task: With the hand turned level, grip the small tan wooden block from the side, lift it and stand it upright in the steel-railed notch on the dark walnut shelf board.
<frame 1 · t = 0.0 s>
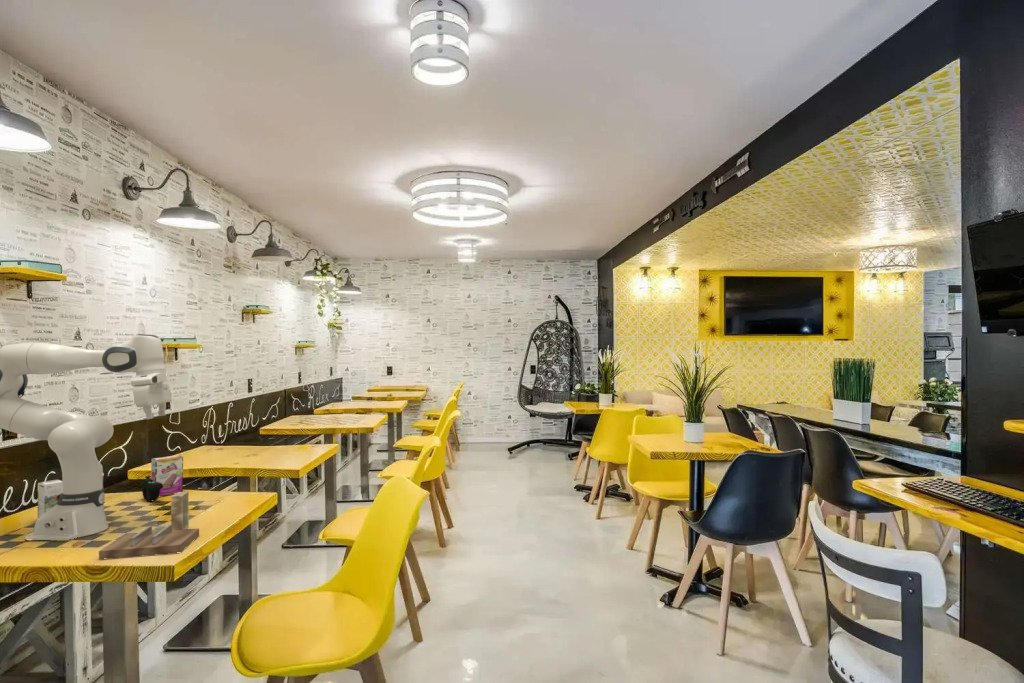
hand: (156, 417, 194), 39 cm above the table, tool pointing down, fingers open, 8 cm apart
tan wooden block: (180, 532, 187), on the table
notch board: (151, 547, 172), on the table
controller: (152, 501, 227), on the table
candy bar box: (167, 495, 237), on the table
syrup box: (50, 521, 202), on the table
paper cup: (92, 507, 219), on the table
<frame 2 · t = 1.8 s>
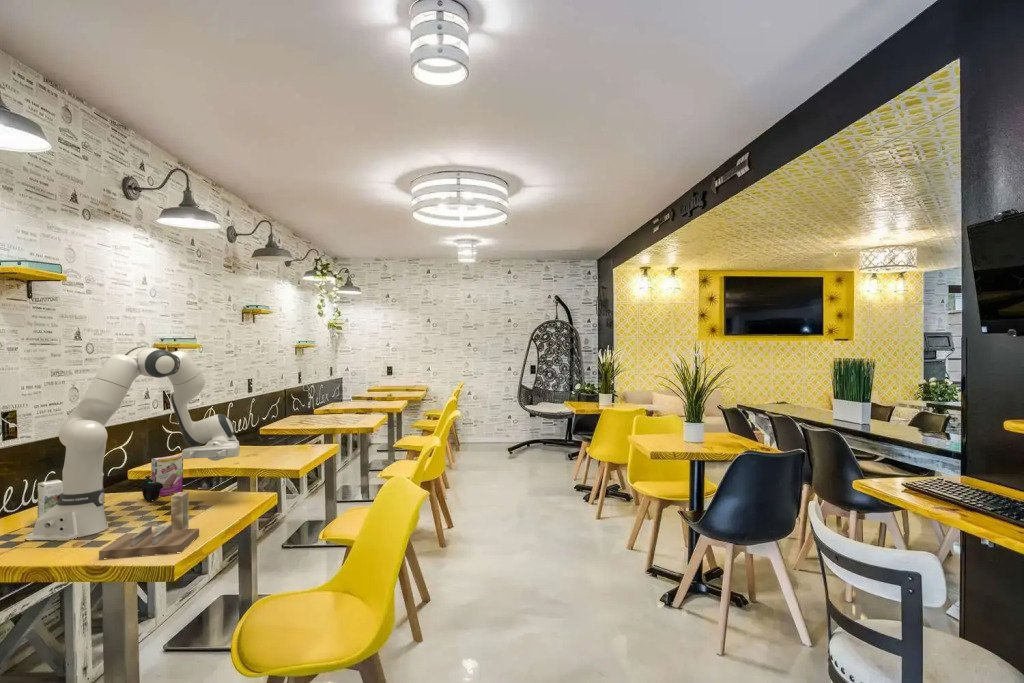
hand: (204, 455, 210), 22 cm above the table, tool horizontal, fingers open, 8 cm apart
nothing on the table moved.
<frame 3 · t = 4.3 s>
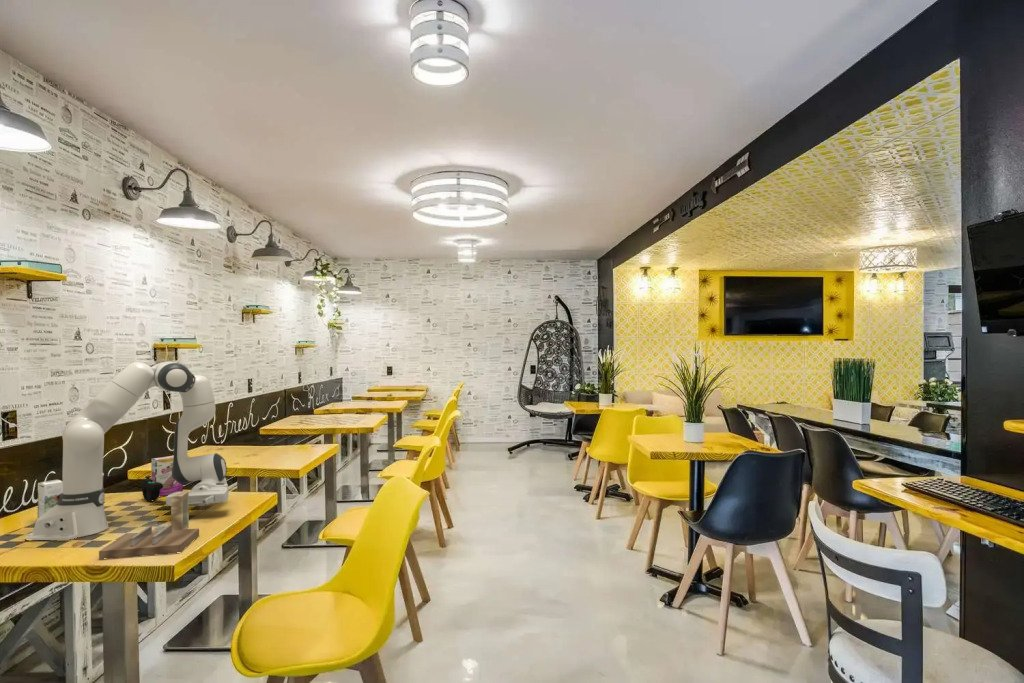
hand: (190, 502, 196), 7 cm above the table, tool horizontal, fingers open, 8 cm apart
nothing on the table moved.
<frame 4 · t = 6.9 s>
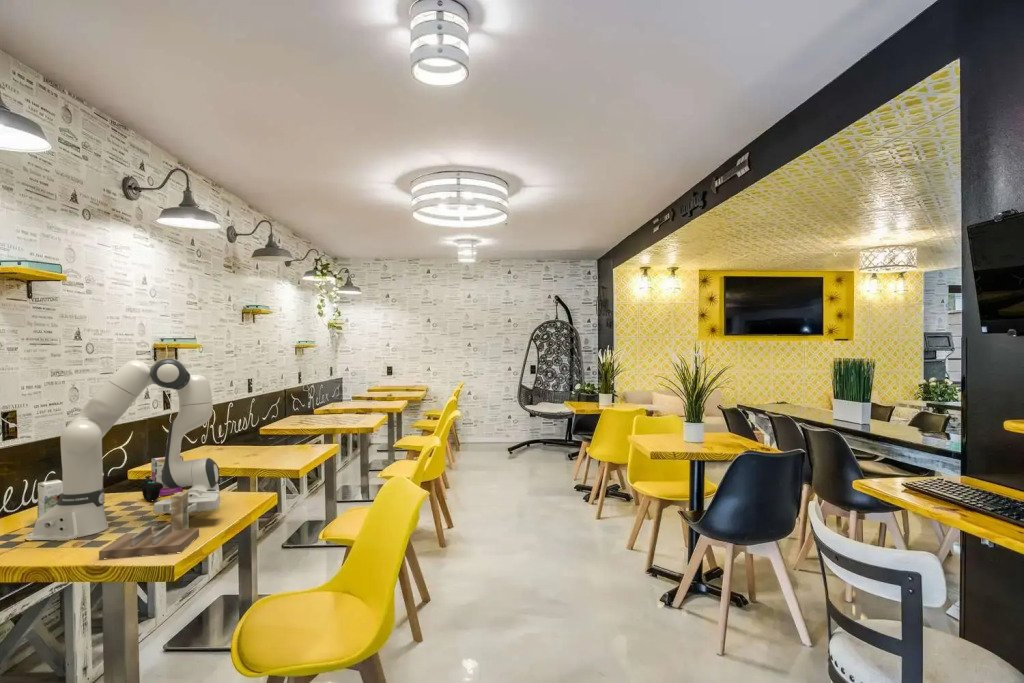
hand: (178, 510, 186), 8 cm above the table, tool horizontal, fingers closed on tan wooden block, 3 cm apart
tan wooden block: (180, 532, 187), on the table, touching gripper
everything else where it was.
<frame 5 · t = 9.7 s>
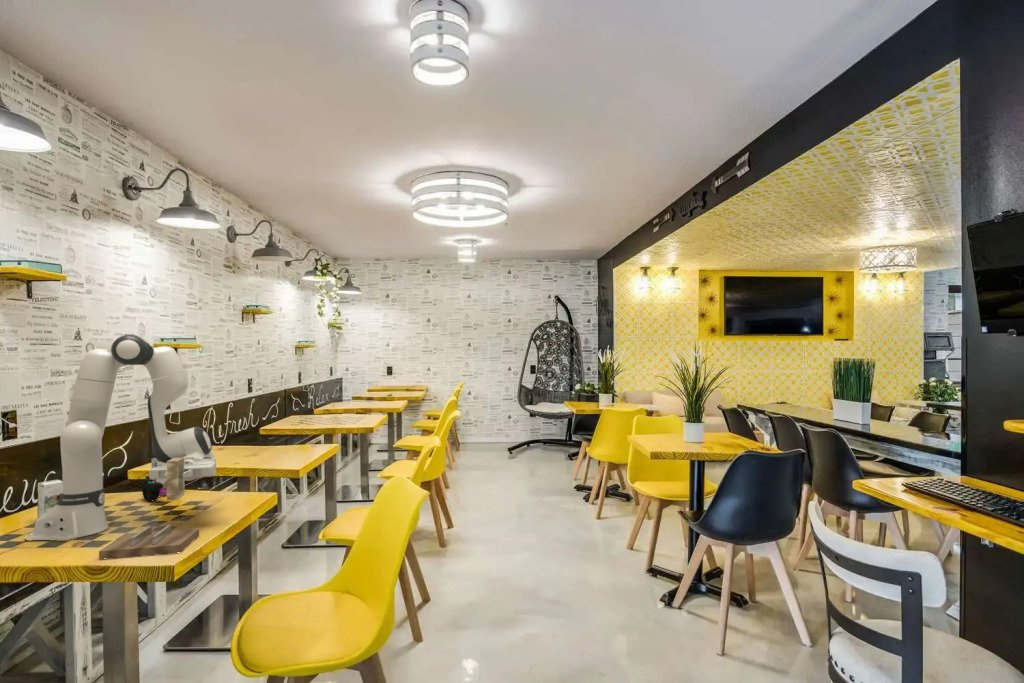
hand: (174, 476, 184), 20 cm above the table, tool horizontal, fingers closed on tan wooden block, 3 cm apart
tan wooden block: (175, 497, 185), point 12 cm above the table, touching gripper
everything else where it was.
when the fingers open (11 cm above the table, at t = 13.0 s): tan wooden block stays where it is, resting on notch board.
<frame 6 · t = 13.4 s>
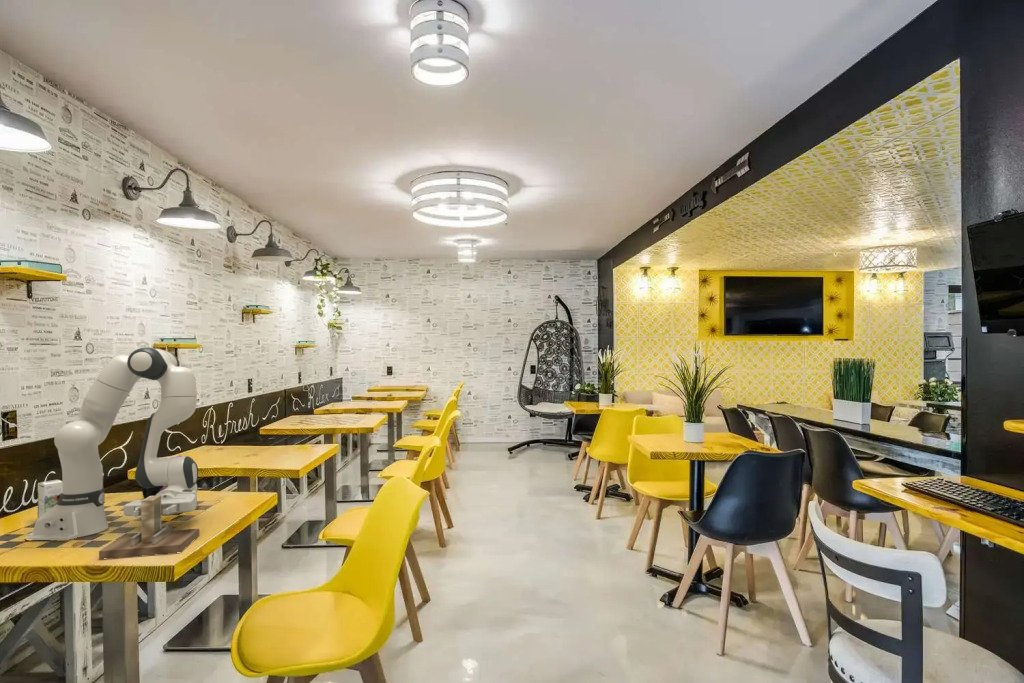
hand: (150, 513, 172), 11 cm above the table, tool horizontal, fingers open, 7 cm apart
tan wooden block: (151, 539, 172), point 3 cm above the table, touching notch board
everything else where it was.
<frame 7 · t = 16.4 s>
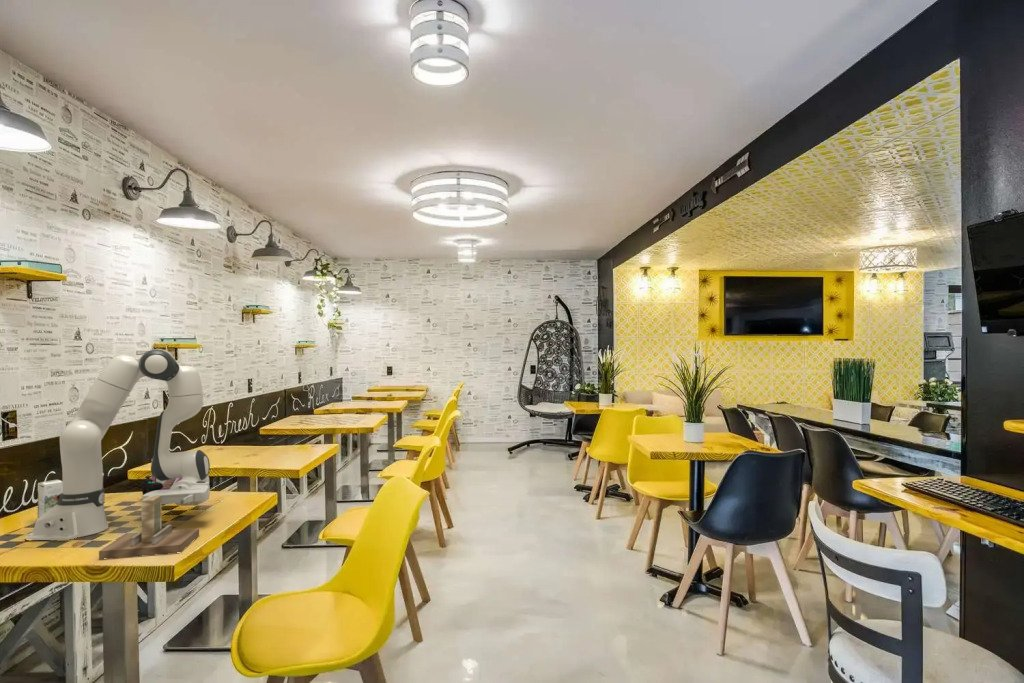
hand: (167, 502, 184), 11 cm above the table, tool horizontal, fingers open, 8 cm apart
nothing on the table moved.
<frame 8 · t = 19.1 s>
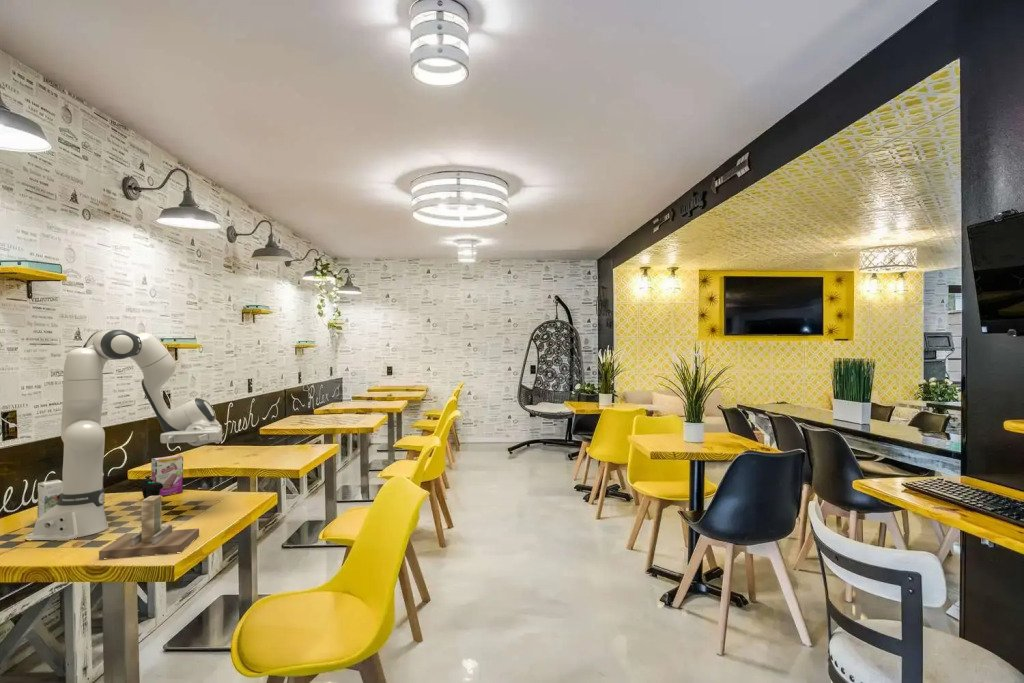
hand: (184, 439, 198), 30 cm above the table, tool horizontal, fingers open, 8 cm apart
nothing on the table moved.
at the end: tan wooden block 0.1 cm off-centre on the notch board, point 2.5 cm above the notch board's base; tan wooden block tilted 0°; the gripper is holding nothing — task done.
